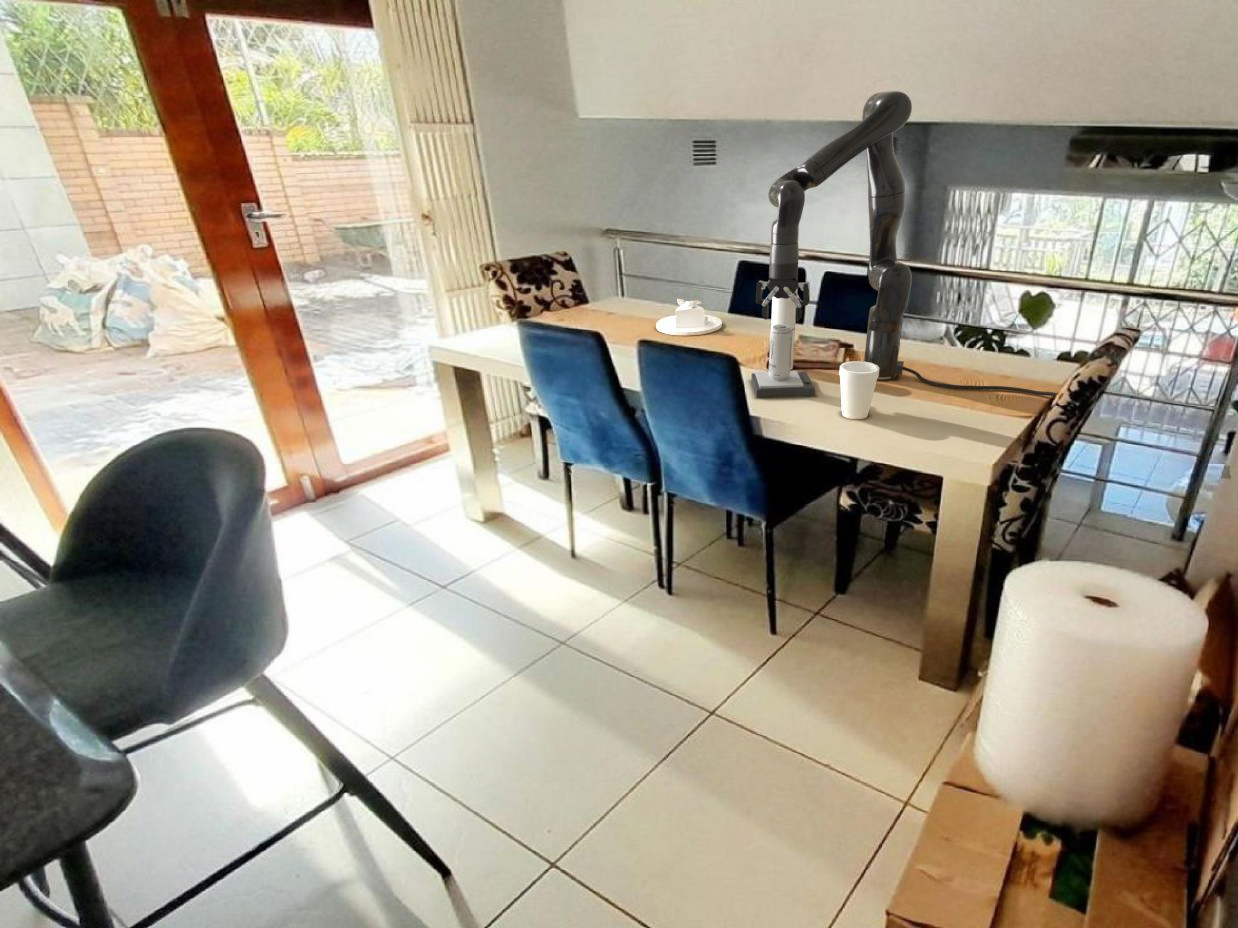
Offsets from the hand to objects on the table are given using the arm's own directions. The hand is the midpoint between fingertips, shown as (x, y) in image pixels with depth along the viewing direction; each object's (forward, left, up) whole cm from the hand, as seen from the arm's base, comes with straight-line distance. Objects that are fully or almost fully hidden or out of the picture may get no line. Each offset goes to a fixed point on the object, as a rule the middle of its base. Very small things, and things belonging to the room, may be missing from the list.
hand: (781, 319), depth 194 cm
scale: (-1, 0, -20) cm, 20 cm away
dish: (+46, -57, -20) cm, 76 cm away
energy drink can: (0, 0, -17) cm, 17 cm away
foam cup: (-23, +14, -21) cm, 34 cm away
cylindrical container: (+3, -18, -21) cm, 28 cm away
